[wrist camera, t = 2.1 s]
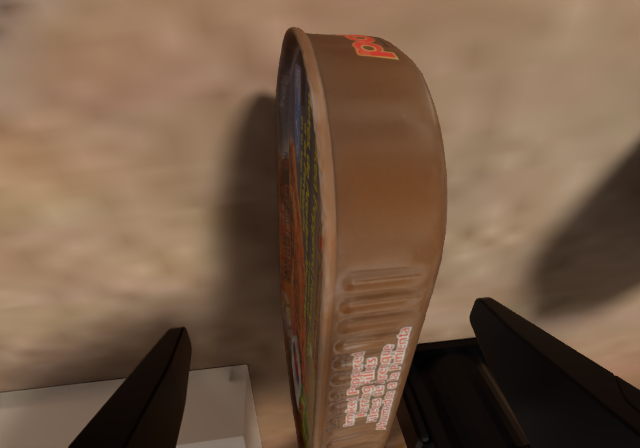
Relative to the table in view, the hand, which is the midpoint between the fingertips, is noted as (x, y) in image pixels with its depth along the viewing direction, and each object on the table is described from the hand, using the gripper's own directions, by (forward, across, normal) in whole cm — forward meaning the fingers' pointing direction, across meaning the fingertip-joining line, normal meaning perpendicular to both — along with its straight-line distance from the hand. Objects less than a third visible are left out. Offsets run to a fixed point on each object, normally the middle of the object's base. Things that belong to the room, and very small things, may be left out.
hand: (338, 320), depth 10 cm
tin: (+6, 0, 0) cm, 6 cm away
